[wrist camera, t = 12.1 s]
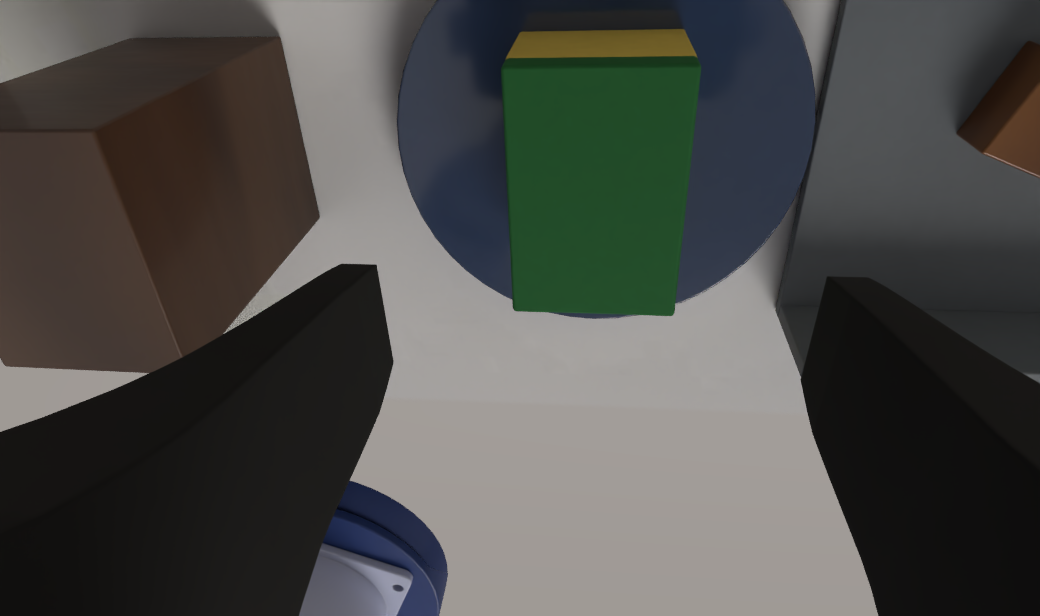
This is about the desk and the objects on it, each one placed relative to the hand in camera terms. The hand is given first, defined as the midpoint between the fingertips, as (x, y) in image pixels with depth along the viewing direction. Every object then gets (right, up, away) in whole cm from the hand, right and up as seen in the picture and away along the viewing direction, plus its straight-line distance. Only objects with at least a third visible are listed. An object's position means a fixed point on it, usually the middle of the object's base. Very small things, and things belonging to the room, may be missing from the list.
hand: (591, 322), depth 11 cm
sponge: (+1, +5, +7) cm, 8 cm away
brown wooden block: (-10, +6, +9) cm, 14 cm away
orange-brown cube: (+12, +5, +6) cm, 14 cm away
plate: (+1, +5, +8) cm, 9 cm away
